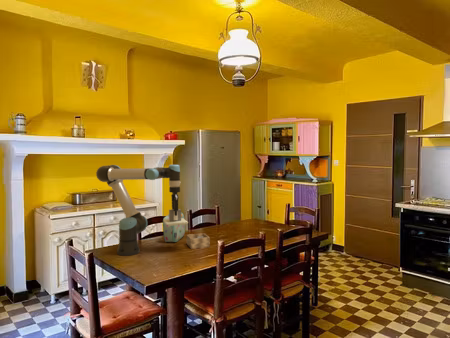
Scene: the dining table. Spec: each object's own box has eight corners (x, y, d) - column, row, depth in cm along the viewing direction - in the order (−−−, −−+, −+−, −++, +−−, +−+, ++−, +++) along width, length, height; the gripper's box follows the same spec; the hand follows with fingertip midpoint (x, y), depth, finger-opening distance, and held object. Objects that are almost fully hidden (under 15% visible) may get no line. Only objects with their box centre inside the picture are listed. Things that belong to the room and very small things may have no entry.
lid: (166, 226, 239) (166, 212, 238) (162, 222, 253) (162, 208, 252) (188, 224, 244) (187, 210, 243) (183, 220, 258) (183, 207, 257)
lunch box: (175, 244, 263) (174, 216, 262) (162, 243, 265) (161, 215, 264) (186, 235, 289) (185, 210, 288) (174, 235, 292) (173, 209, 290)
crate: (191, 248, 251) (191, 239, 251) (186, 243, 264) (186, 234, 264) (209, 247, 256) (209, 237, 255) (204, 242, 269) (204, 233, 269)
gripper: (182, 187, 241) (182, 221, 242) (177, 185, 256) (178, 217, 257) (171, 187, 238) (172, 222, 239) (167, 185, 253) (167, 217, 255)
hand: (175, 219), depth 248 cm, fingers closed on lid, 3 cm apart
